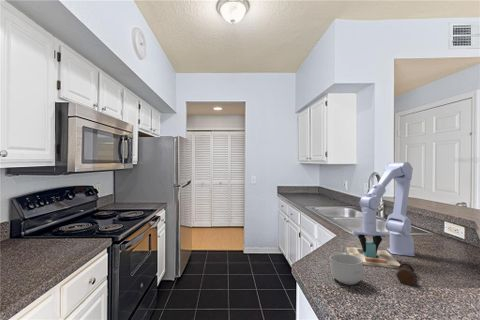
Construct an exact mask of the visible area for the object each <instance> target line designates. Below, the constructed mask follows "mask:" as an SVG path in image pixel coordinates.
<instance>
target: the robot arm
mask: <svg viewBox="0 0 480 320" xmlns="http://www.w3.org/2000/svg"><path fill="white" fill-rule="evenodd" d="M413 170H414V169H413V166H412V165H411V164H410V162H408V161H405V162H388V163H386V165H385V166H384V172H383V174H382V175H381V177H380V179H379V181H378V183H375V184H373V185H371V188H370V189H369V191H368V192H367V193H366V194H365V195H363V196H362V197H361V198H360V200H359V201H358V203H359V206H360V209H361V212H362V213H361V214H362V215H361V216H362V220H361V221H362V230H361V229H360V230H359V229H357V230H356V229H355V230H353V229H352V232H351V235H352V236H357V237H358V239H359V242H360V244H361V248H362V249H363V252H366V241H367V238H366V237H372V242H373V243H374V244H375V245H376V254H377V250H379V246H380V245H381V243H382V242H383V238H388V234H389V247H388V248H387V247H386V251H387V252H388V253H389V252H390V253H389V254H391V255H400V256H407V257H409V256H410V257H416V255H415V243H414V242H415V240H414V238H413V235H410V234H411V233H412V229H413V228H412V220H411V219H410V218H409V216H407V209H408V202H409V194H410V187H411V180H412V177H413ZM393 180H394V181H396V187H395V188H396V189H395V194H394V195H395V196H394V202H393V203H394V204H393V210H392V213H389V214H388V215H387V218H386V221H385V223H384V226H385V229H386V230H387V232H386V231H377V230H378V229H377V210H378V208H379V207H380V204H381V199H382V198H383V196H384V194H386V187H387V186H388V185H389V184H390V182H391V181H393ZM363 252H362V253H363Z"/></svg>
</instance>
